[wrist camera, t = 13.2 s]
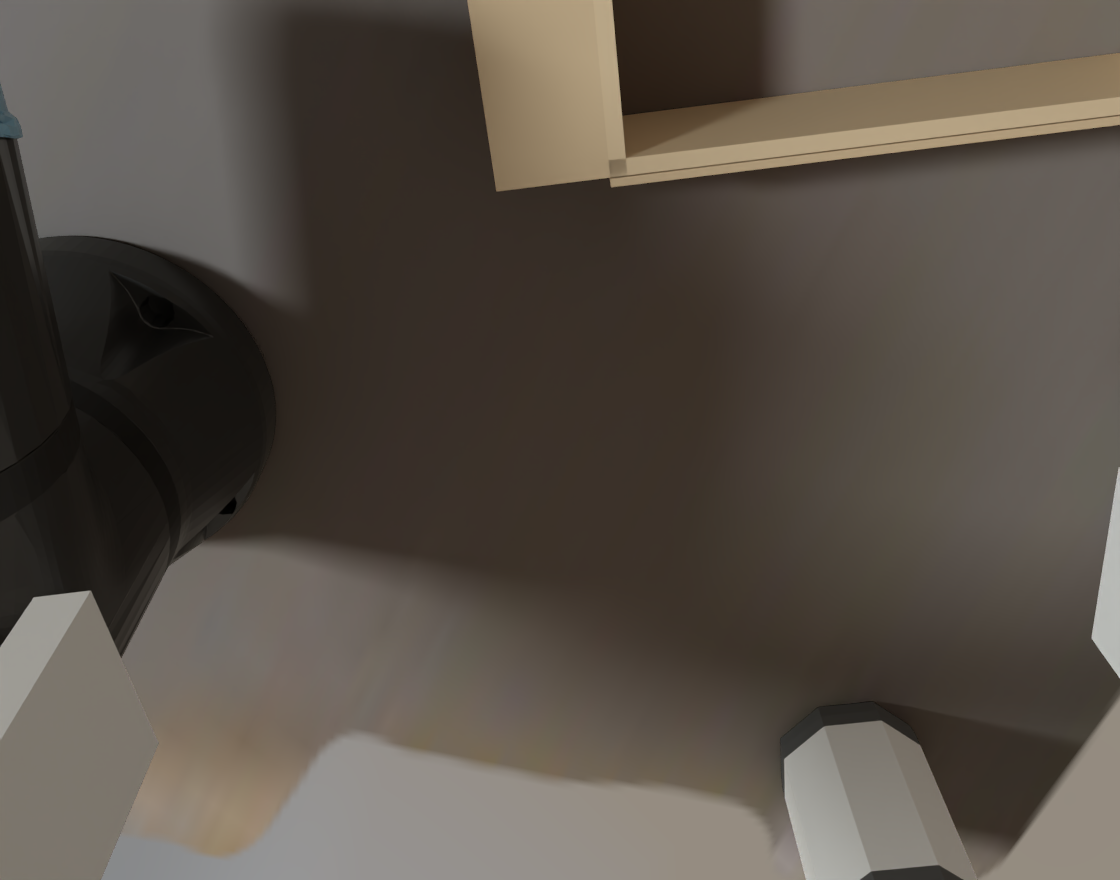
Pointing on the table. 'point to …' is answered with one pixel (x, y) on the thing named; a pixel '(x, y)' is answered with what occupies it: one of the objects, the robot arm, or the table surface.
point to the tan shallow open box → (737, 107)
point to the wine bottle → (867, 800)
